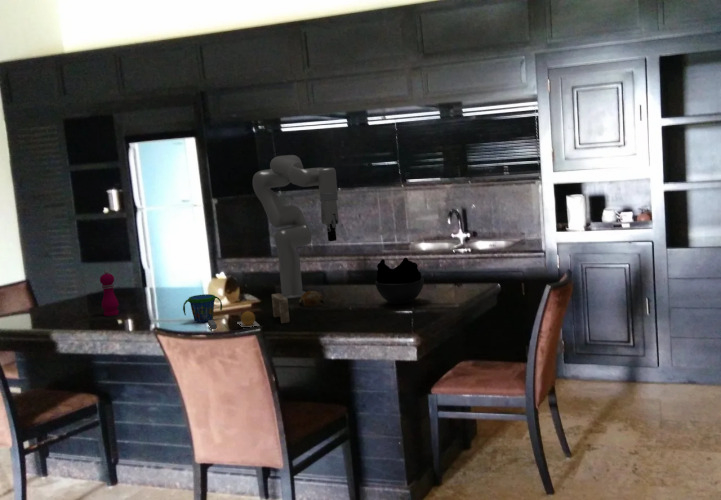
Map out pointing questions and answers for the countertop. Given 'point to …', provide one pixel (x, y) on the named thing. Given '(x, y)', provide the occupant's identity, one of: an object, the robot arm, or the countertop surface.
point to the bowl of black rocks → (399, 282)
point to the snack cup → (202, 307)
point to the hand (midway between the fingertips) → (332, 240)
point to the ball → (248, 318)
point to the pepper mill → (109, 295)
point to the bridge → (280, 307)
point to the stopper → (212, 324)
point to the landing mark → (248, 325)
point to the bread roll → (311, 299)
